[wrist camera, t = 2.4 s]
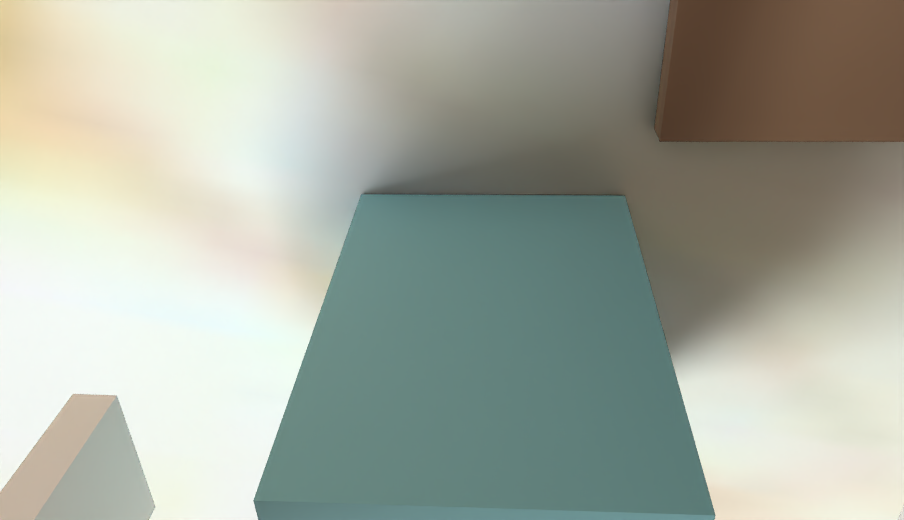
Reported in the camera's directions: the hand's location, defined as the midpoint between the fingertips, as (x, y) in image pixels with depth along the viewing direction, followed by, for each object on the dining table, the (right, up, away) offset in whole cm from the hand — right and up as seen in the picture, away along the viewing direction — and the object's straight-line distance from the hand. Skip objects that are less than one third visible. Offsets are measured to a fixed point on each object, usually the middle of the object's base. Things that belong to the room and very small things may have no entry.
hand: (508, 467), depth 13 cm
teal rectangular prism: (0, +3, +4) cm, 5 cm away
